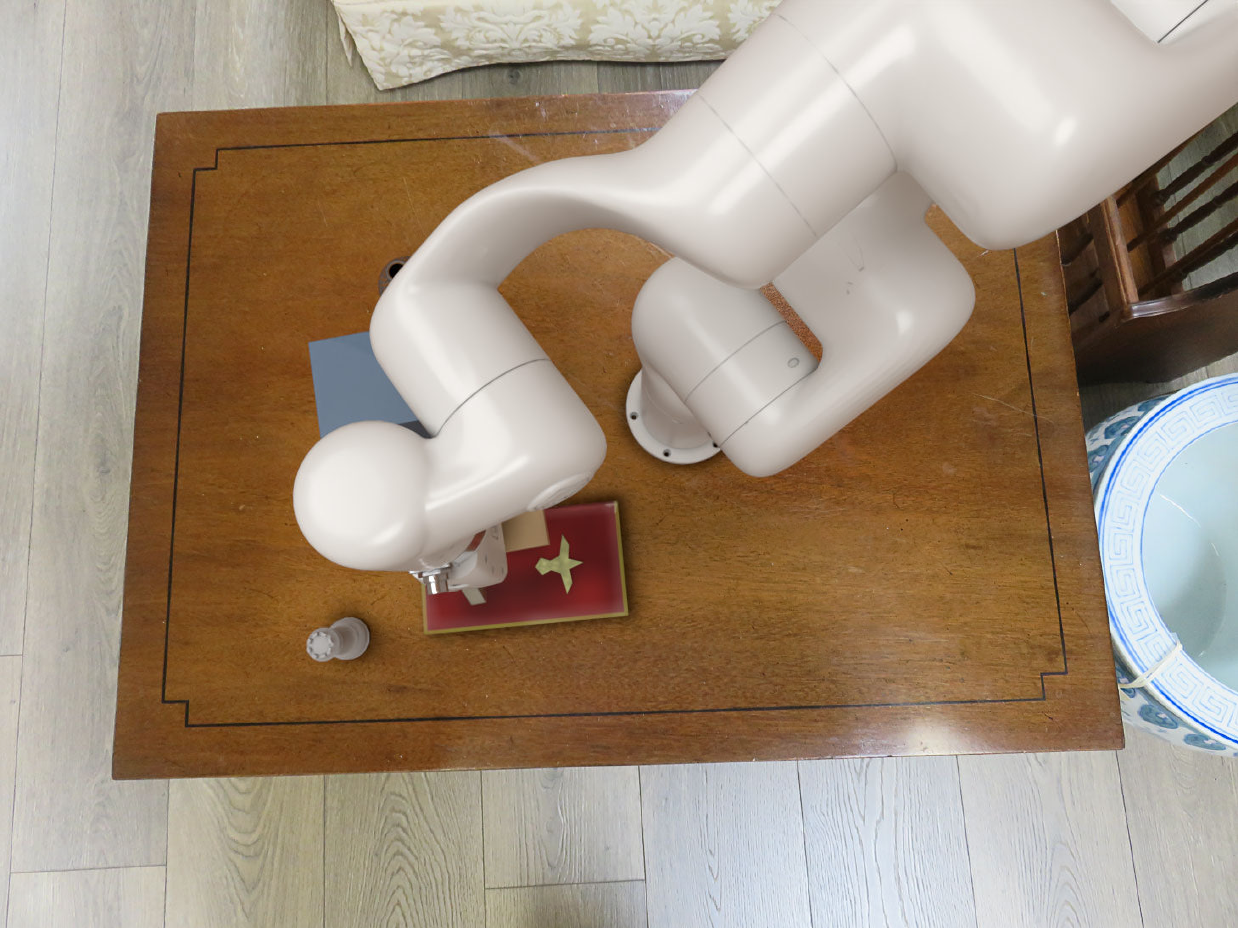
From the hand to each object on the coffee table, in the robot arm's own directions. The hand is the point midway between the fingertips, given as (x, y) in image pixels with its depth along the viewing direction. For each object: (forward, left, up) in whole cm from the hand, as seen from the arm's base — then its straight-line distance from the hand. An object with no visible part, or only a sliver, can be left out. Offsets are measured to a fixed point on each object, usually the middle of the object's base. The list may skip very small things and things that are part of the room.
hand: (483, 530), depth 64 cm
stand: (+3, -13, -15) cm, 20 cm away
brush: (0, 0, -4) cm, 4 cm away
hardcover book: (-1, +3, -15) cm, 16 cm away
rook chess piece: (+19, +7, -15) cm, 25 cm away
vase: (+6, -29, -15) cm, 33 cm away
